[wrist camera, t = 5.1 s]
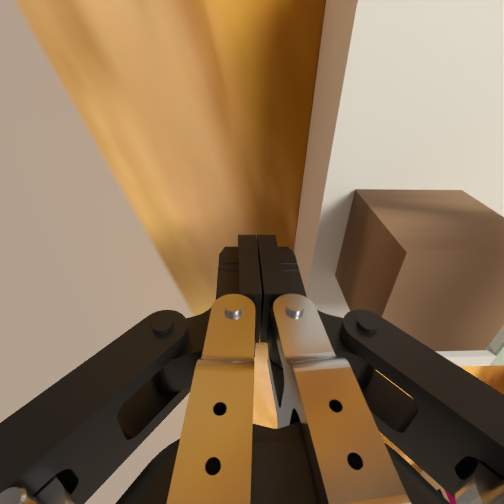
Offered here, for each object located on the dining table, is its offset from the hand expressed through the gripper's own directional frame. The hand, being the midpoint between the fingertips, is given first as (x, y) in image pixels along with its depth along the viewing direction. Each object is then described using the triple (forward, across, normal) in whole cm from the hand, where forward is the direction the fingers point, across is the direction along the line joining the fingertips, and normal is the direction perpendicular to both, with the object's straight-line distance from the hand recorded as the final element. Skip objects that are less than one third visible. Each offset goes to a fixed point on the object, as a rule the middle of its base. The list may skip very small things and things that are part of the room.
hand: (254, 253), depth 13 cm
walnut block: (+1, -6, 0) cm, 6 cm away
